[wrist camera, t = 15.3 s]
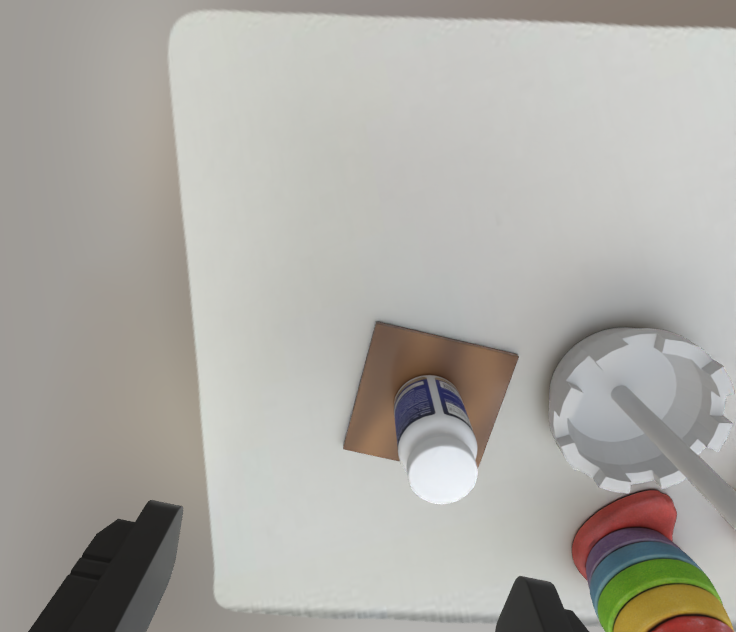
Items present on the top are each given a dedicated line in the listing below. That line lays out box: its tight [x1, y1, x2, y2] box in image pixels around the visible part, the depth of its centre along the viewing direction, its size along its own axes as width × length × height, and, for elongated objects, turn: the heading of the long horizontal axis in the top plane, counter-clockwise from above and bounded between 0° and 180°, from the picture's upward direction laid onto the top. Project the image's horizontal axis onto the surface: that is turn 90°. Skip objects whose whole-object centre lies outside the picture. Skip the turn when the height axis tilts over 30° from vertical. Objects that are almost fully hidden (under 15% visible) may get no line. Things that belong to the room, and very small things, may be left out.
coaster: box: [343, 322, 519, 468], centre depth 44 cm, size 12×12×1 cm
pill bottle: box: [394, 375, 478, 504], centre depth 39 cm, size 6×6×10 cm
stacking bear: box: [572, 490, 734, 632], centre depth 41 cm, size 11×10×18 cm
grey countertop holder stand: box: [549, 327, 736, 531], centre depth 30 cm, size 13×13×30 cm
